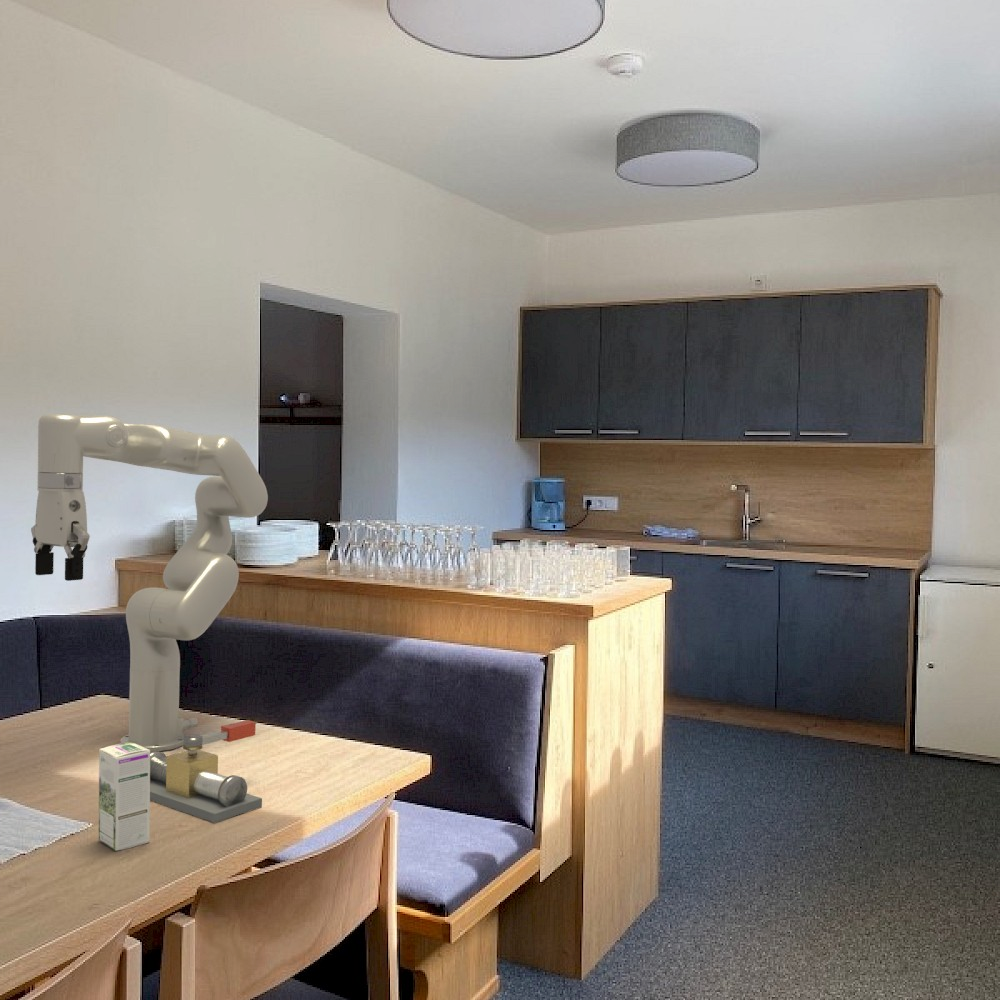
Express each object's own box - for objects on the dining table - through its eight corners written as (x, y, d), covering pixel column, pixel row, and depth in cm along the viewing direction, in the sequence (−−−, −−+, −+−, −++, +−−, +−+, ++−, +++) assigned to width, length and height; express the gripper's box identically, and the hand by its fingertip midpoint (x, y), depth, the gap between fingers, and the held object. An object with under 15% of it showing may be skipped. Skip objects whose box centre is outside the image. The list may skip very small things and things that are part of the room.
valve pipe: (165, 776, 186) (166, 740, 186) (248, 803, 173) (249, 764, 173) (136, 784, 181) (137, 747, 181) (220, 812, 168) (221, 772, 168)
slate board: (171, 777, 188) (171, 769, 188) (261, 806, 175) (261, 798, 174) (123, 790, 180) (123, 782, 180) (214, 823, 166) (214, 813, 166)
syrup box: (151, 842, 157) (153, 748, 157) (114, 852, 153) (115, 755, 152) (132, 832, 161) (134, 740, 161) (96, 841, 157) (97, 747, 156)
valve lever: (244, 737, 188) (245, 719, 188) (257, 740, 187) (257, 722, 187) (178, 754, 177) (179, 735, 176) (190, 758, 175) (191, 739, 175)
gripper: (106, 485, 184) (105, 580, 185) (53, 480, 194) (52, 571, 195) (67, 485, 178) (65, 584, 179) (15, 480, 188) (13, 574, 189)
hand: (58, 577), depth 187 cm, fingers open, 9 cm apart
